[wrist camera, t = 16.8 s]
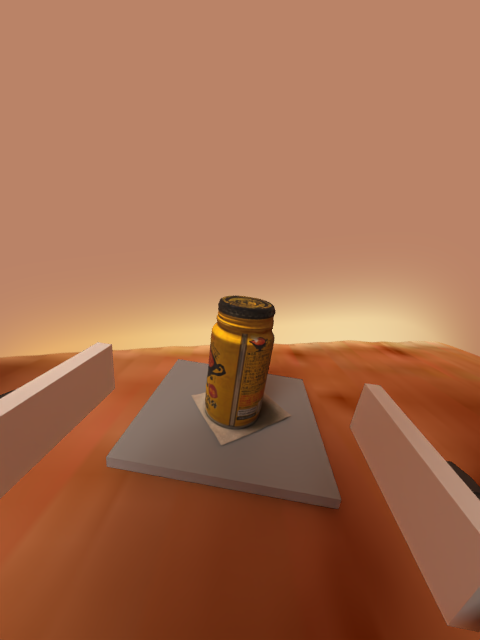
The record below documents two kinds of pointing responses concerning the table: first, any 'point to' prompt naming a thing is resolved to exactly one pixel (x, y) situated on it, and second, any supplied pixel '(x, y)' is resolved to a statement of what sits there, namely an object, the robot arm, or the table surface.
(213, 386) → the condiment
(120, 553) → the table surface
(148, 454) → the plain gray board
